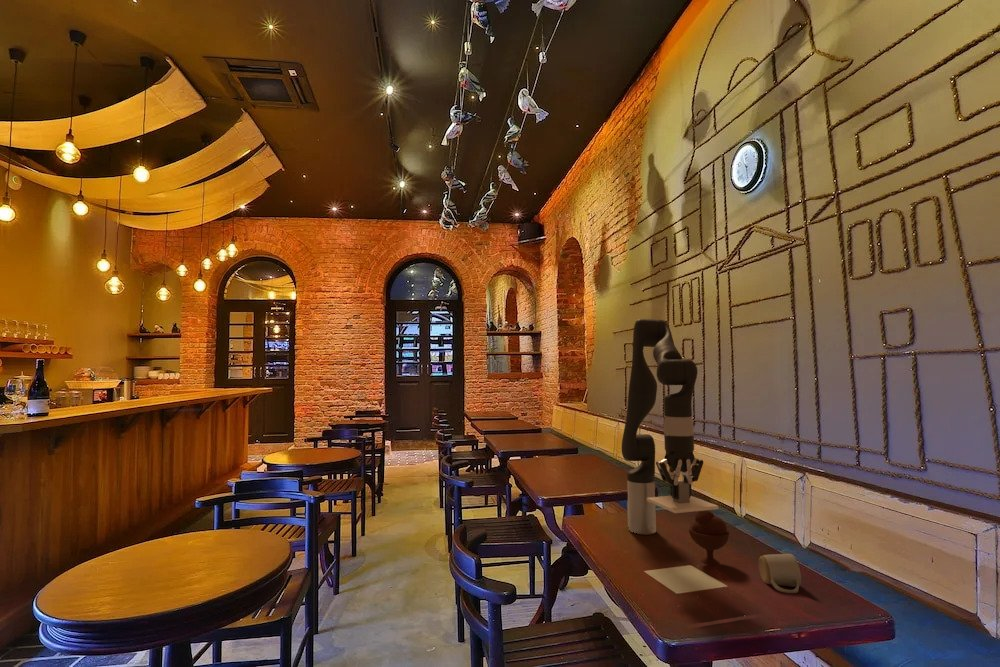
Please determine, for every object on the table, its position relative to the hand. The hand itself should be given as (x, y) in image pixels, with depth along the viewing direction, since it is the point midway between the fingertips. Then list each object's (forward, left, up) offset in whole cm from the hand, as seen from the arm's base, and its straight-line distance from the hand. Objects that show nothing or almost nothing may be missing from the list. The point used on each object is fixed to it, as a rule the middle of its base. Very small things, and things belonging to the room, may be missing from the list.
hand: (680, 498), depth 136 cm
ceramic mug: (+11, +22, -22) cm, 33 cm away
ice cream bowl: (-8, +14, -22) cm, 27 cm away
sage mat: (0, 0, -21) cm, 21 cm away
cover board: (0, 0, -2) cm, 2 cm away
